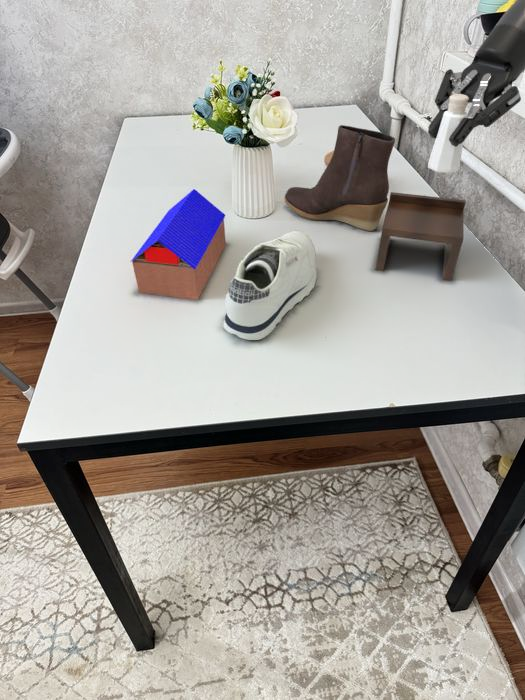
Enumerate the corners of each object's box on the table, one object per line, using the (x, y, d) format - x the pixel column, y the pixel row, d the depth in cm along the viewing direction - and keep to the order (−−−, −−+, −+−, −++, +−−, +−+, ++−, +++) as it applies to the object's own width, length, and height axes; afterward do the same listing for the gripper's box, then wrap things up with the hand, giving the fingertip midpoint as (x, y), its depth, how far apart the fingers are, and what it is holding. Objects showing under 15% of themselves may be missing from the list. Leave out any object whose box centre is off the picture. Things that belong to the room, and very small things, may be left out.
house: (227, 244, 102) (223, 191, 95) (199, 300, 88) (191, 243, 80) (173, 239, 104) (165, 186, 96) (136, 293, 90) (123, 237, 82)
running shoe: (329, 260, 97) (334, 206, 89) (277, 353, 78) (278, 293, 70) (277, 250, 100) (277, 196, 92) (215, 336, 81) (208, 277, 73)
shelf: (452, 248, 100) (465, 200, 93) (451, 281, 91) (465, 230, 84) (382, 239, 103) (390, 191, 96) (375, 270, 94) (383, 220, 87)
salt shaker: (452, 176, 80) (470, 103, 72) (421, 168, 82) (435, 97, 75) (465, 165, 83) (483, 94, 75) (435, 158, 85) (449, 88, 78)
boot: (295, 197, 118) (298, 108, 104) (390, 222, 108) (407, 127, 95) (276, 212, 113) (277, 120, 99) (375, 239, 103) (390, 142, 89)
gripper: (470, 16, 76) (400, 113, 80) (553, 29, 68) (470, 138, 71) (483, 50, 82) (417, 140, 86) (561, 66, 73) (484, 166, 77)
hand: (442, 138), depth 78 cm, fingers closed on salt shaker, 3 cm apart
